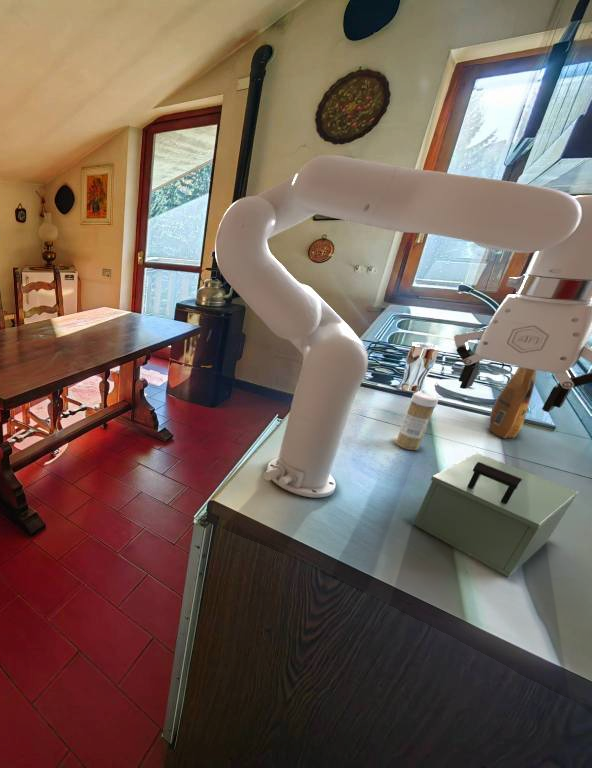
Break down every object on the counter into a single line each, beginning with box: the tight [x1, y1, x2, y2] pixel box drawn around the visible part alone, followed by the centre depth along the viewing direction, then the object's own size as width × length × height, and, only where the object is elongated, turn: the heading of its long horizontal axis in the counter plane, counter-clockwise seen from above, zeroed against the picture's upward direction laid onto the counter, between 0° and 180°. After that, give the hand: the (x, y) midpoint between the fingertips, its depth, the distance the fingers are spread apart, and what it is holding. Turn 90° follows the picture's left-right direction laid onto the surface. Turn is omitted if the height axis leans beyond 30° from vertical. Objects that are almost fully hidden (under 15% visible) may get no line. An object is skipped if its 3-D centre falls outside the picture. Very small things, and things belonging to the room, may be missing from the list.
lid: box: [430, 452, 579, 529], centre depth 63 cm, size 16×13×5 cm
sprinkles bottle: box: [395, 391, 440, 451], centre depth 92 cm, size 5×5×14 cm
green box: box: [412, 480, 576, 578], centre depth 66 cm, size 16×13×10 cm
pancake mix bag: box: [489, 366, 537, 439], centre depth 99 cm, size 7×19×28 cm, turn 135°
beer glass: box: [397, 342, 440, 394], centre depth 124 cm, size 7×7×15 cm
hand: (504, 397), depth 63 cm, fingers open, 9 cm apart
